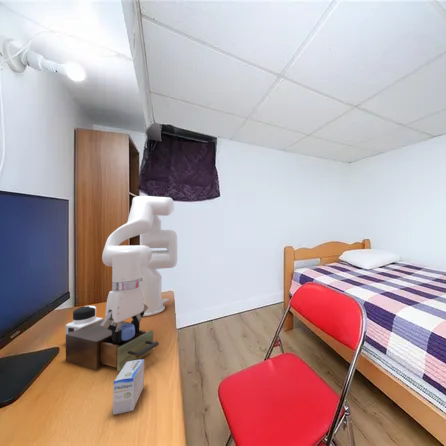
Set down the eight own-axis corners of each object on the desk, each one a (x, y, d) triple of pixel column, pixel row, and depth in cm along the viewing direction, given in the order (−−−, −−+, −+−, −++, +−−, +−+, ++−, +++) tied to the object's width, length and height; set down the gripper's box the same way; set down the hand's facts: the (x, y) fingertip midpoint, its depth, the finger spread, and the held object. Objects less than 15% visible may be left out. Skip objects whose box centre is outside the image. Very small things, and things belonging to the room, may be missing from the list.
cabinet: (135, 347, 81) (135, 323, 81) (96, 369, 69) (96, 341, 68) (107, 340, 85) (107, 318, 84) (65, 361, 72) (65, 334, 72)
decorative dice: (120, 342, 71) (120, 330, 71) (117, 337, 73) (118, 326, 73) (135, 337, 74) (135, 326, 74) (132, 333, 76) (132, 322, 76)
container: (80, 347, 80) (80, 312, 80) (64, 344, 82) (65, 310, 81) (103, 336, 88) (103, 304, 87) (88, 333, 89) (88, 302, 89)
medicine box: (125, 391, 60) (125, 361, 60) (144, 387, 62) (144, 358, 62) (112, 416, 53) (112, 381, 53) (133, 410, 54) (134, 377, 54)
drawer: (164, 352, 76) (164, 332, 76) (131, 375, 65) (132, 351, 65) (125, 343, 81) (125, 324, 81) (89, 363, 70) (89, 341, 70)
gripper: (142, 277, 82) (141, 323, 83) (88, 291, 66) (88, 349, 66) (157, 279, 80) (157, 326, 81) (106, 294, 64) (106, 354, 64)
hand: (126, 336), depth 74 cm, fingers closed on decorative dice, 5 cm apart
